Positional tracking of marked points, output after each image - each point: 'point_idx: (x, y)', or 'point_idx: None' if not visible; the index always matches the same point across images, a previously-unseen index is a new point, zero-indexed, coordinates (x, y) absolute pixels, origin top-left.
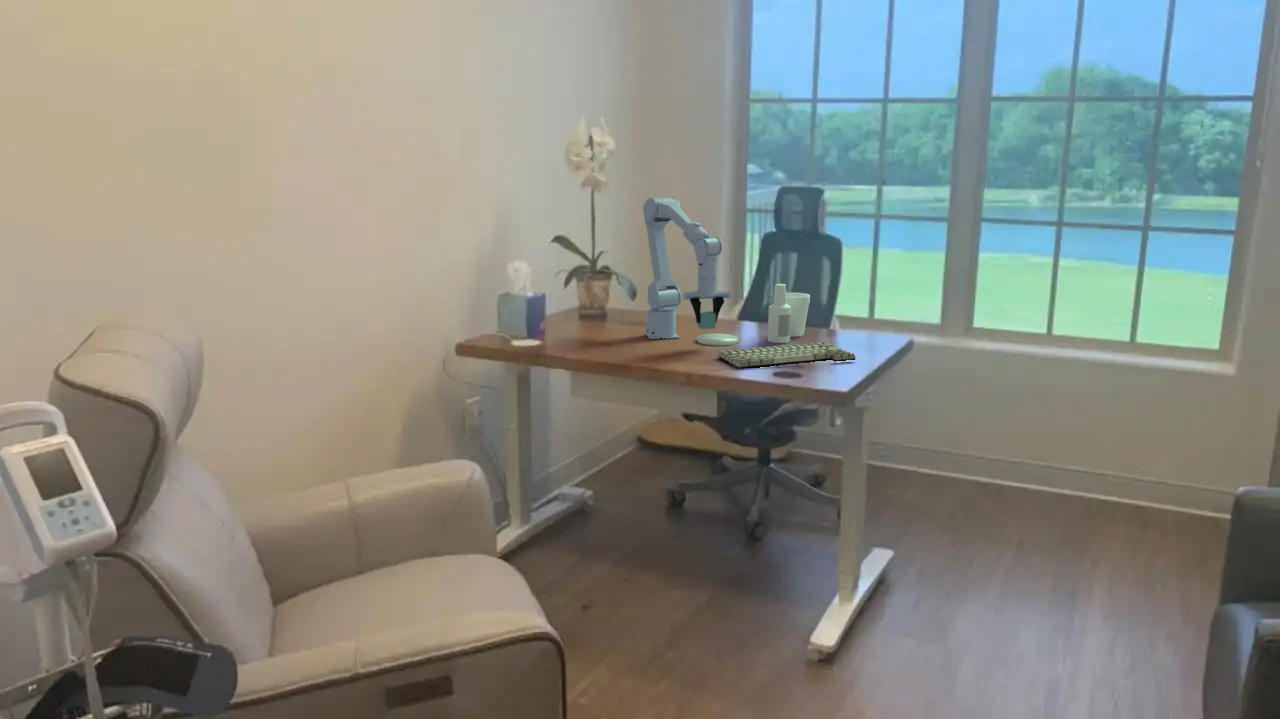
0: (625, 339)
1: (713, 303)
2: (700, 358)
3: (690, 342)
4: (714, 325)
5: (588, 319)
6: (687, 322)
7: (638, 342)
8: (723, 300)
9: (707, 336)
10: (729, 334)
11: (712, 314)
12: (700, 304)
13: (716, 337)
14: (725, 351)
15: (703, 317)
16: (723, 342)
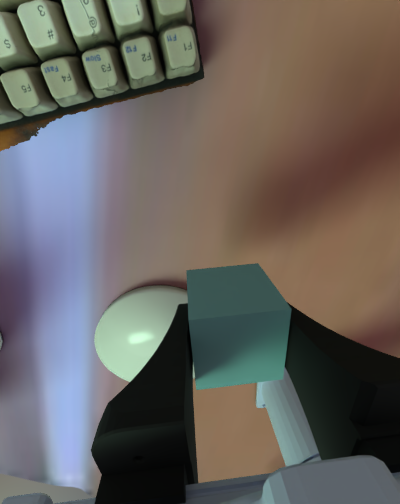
0: None
1: (194, 438)
2: (270, 85)
3: None
4: (192, 276)
5: None
6: (201, 476)
7: (370, 329)
8: (102, 434)
9: None
10: (120, 376)
11: (211, 314)
12: (347, 366)
13: None
14: (167, 36)
15: (267, 296)
16: (148, 291)
